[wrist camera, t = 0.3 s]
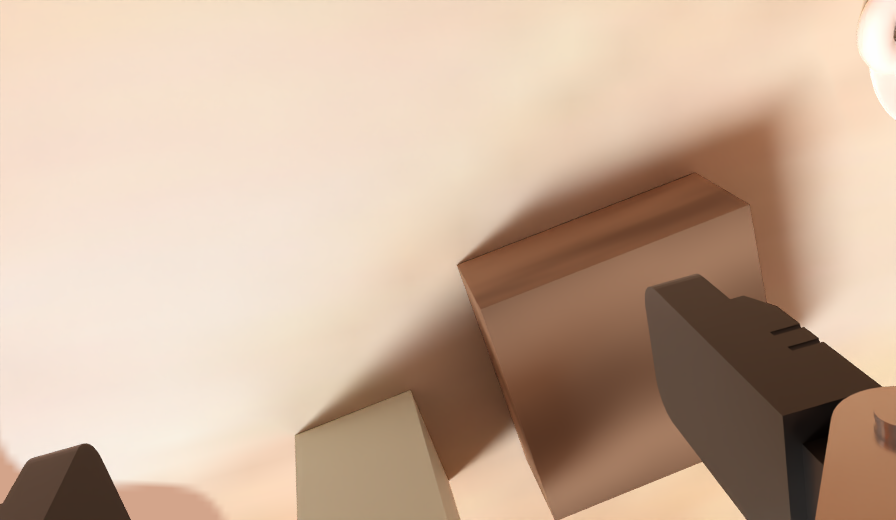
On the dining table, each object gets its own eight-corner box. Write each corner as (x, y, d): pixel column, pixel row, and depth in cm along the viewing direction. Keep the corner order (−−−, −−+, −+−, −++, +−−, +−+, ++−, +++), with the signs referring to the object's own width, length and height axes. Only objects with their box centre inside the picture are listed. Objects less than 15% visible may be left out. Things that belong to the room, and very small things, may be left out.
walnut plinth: (457, 264, 31) (480, 309, 27) (695, 172, 31) (749, 204, 28) (526, 460, 35) (555, 521, 32) (736, 376, 36) (788, 426, 32)
